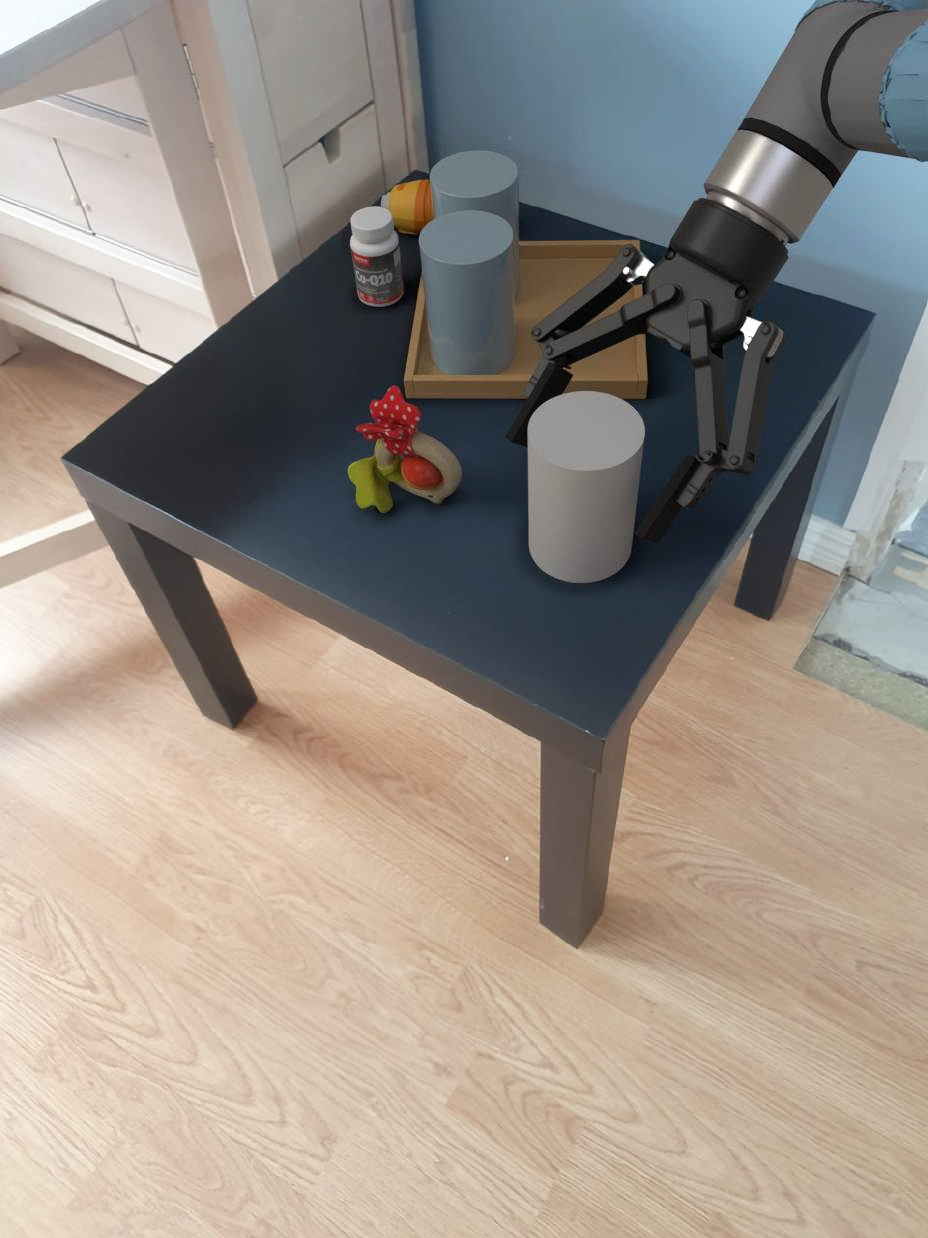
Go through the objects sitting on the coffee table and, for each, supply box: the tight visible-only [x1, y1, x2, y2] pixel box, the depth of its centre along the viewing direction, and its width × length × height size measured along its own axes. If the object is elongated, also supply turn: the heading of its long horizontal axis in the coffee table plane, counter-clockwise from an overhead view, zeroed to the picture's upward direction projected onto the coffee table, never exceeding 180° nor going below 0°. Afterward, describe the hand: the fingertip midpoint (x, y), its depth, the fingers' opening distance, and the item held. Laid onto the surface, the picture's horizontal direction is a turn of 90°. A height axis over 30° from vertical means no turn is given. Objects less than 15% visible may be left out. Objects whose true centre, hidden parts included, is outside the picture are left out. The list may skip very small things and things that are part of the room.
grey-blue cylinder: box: [429, 149, 520, 298], centre depth 94 cm, size 8×8×12 cm
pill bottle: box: [349, 205, 405, 308], centre depth 97 cm, size 5×5×8 cm
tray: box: [403, 239, 649, 400], centre depth 95 cm, size 22×22×2 cm
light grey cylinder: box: [527, 391, 646, 584], centre depth 74 cm, size 8×8×12 cm
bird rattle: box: [347, 384, 463, 514], centre depth 79 cm, size 6×11×9 cm
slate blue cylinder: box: [418, 210, 516, 375], centre depth 88 cm, size 8×8×12 cm
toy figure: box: [380, 179, 434, 236], centre depth 104 cm, size 5×6×12 cm
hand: (578, 489), depth 74 cm, fingers open, 13 cm apart
